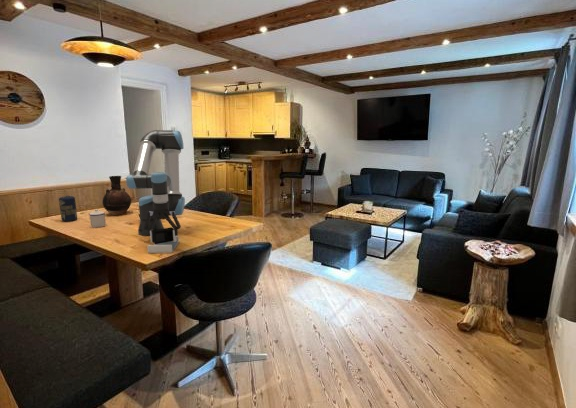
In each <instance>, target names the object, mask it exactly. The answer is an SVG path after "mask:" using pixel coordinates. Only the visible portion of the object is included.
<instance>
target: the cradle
mask: <svg viewBox="0 0 576 408" xmlns="http://www.w3.org/2000/svg"><path fill="white" fill-rule="evenodd" d="M179 243H180V238H179V235H177V236H176V242H174V241H171V242H165V243H159V244H154V243H153V244H148V245H147V247H146V248H147V254H171V253H173V252H174V250H175V249H176V248H177V247H178V245H179Z"/></svg>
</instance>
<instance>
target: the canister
mask: <svg viewBox="0 0 576 408" xmlns="http://www.w3.org/2000/svg"><path fill="white" fill-rule="evenodd" d="M58 204H59V210H60V218H61V221H62V222H72V221H76V220H77V219H78V212H77V206H76V205H77V203H76V197H75V196H71V195H65V196H60V197H59V198H58Z"/></svg>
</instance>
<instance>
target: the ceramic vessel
mask: <svg viewBox="0 0 576 408" xmlns="http://www.w3.org/2000/svg"><path fill="white" fill-rule="evenodd" d="M108 178H109V181H110V187H111V188H110V189H108V188H107V189H105V194H104V196H103V198H102V206H103V208H104V209H105V210H106V212H107V213H109V214H110V215H114V216H118V215H119V216H120V215H123V214H125V213H127V211H128V210H129V209H130V208H131V204H132V197H131V195H129V193H128V192H127V191H126V189H125V187H124V188H122V185H121V179H122V175H110V176H109V177H108Z"/></svg>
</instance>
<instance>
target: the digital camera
mask: <svg viewBox="0 0 576 408" xmlns="http://www.w3.org/2000/svg"><path fill="white" fill-rule="evenodd" d="M173 230H174V229H173V227H172V226H170V227H164V228H163V229H156V230H152V234H153V242H152V243H153V245H154V244H159V243H165V242H171V241H174V239H173Z"/></svg>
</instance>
